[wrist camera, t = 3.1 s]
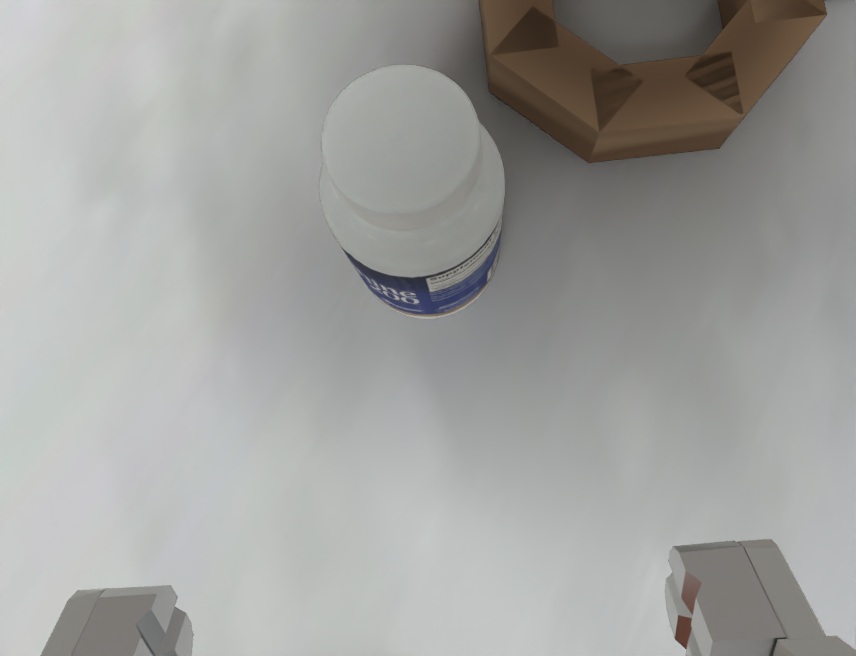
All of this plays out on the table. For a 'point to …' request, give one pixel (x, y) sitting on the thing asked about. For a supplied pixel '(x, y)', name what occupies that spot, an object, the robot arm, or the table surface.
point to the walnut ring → (639, 78)
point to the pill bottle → (413, 189)
